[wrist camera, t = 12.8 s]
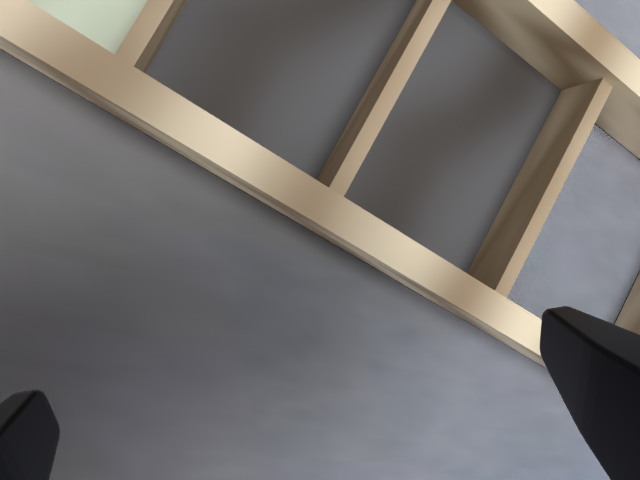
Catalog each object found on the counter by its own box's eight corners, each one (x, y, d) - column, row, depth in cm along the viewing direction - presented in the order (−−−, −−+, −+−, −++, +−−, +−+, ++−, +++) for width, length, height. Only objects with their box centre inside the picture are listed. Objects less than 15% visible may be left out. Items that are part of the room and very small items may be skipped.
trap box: (696, 176, 25) (765, 172, 22) (591, 394, 24) (649, 420, 21) (6, -404, 15) (-32, -544, 12) (-220, -81, 14) (-318, -153, 11)
